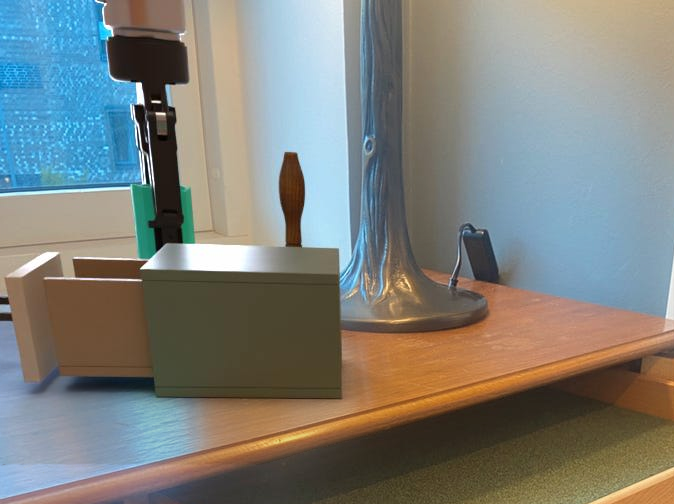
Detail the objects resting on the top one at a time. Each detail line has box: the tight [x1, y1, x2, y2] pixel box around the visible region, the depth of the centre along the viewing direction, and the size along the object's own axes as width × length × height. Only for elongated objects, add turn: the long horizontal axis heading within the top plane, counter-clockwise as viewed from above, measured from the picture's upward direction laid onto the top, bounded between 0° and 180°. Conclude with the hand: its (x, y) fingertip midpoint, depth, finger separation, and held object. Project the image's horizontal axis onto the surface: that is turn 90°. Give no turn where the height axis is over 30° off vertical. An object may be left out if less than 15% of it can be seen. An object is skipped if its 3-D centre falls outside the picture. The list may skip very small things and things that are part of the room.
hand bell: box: [278, 151, 306, 247], centre depth 97 cm, size 8×8×16 cm
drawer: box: [0, 251, 154, 383], centre depth 78 cm, size 18×11×8 cm, turn 97°
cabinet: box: [140, 243, 343, 399], centre depth 80 cm, size 15×13×10 cm
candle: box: [129, 183, 196, 259], centre depth 101 cm, size 6×6×12 cm
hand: (170, 287), depth 104 cm, fingers closed on candle, 6 cm apart
